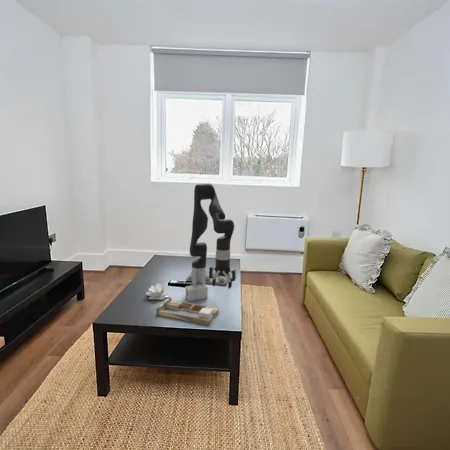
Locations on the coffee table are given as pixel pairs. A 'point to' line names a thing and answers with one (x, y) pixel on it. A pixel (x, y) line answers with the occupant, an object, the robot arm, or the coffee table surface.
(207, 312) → the cream block
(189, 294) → the supplement box
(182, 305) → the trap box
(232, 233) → the robot arm
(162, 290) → the lotus flower
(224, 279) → the grey board with linkage
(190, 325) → the coffee table surface
